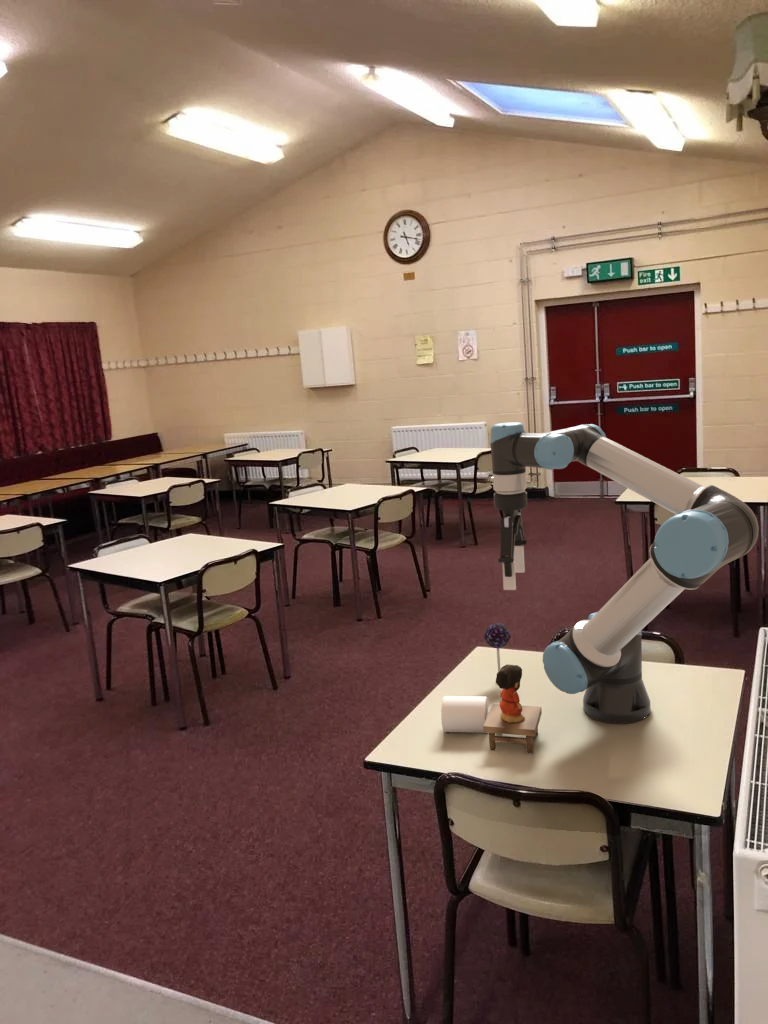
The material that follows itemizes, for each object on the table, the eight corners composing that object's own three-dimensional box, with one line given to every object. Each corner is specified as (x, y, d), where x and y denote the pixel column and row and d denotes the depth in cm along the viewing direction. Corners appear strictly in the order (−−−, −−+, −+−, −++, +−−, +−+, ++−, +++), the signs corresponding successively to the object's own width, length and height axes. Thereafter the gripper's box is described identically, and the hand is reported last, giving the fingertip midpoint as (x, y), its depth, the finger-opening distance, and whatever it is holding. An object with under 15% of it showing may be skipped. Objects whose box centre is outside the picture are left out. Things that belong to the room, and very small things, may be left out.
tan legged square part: (542, 731, 178) (541, 706, 177) (536, 756, 168) (534, 729, 167) (493, 727, 181) (492, 703, 180) (484, 751, 171) (483, 726, 170)
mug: (486, 739, 177) (484, 706, 175) (442, 738, 179) (440, 705, 177) (490, 714, 188) (488, 683, 187) (448, 713, 190) (446, 683, 189)
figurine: (522, 725, 169) (519, 673, 166) (496, 723, 171) (493, 671, 168) (528, 712, 174) (525, 661, 172) (503, 710, 177) (500, 659, 174)
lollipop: (486, 672, 212) (483, 619, 209) (512, 672, 211) (509, 618, 208) (486, 683, 205) (483, 628, 202) (513, 683, 204) (510, 628, 201)
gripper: (502, 481, 193) (507, 565, 197) (483, 502, 170) (488, 597, 174) (533, 480, 190) (537, 565, 195) (518, 501, 167) (522, 597, 172)
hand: (514, 580), depth 184 cm, fingers open, 13 cm apart
